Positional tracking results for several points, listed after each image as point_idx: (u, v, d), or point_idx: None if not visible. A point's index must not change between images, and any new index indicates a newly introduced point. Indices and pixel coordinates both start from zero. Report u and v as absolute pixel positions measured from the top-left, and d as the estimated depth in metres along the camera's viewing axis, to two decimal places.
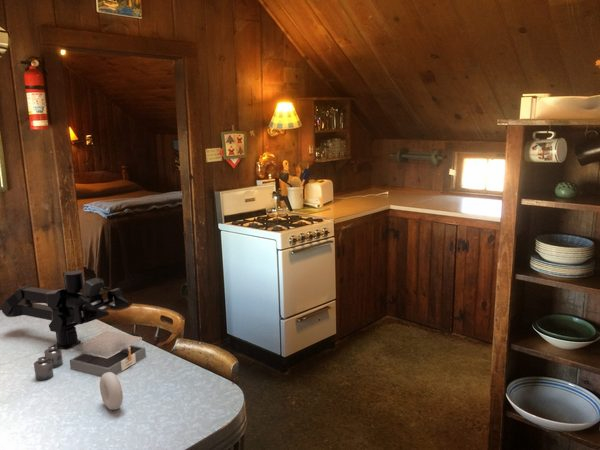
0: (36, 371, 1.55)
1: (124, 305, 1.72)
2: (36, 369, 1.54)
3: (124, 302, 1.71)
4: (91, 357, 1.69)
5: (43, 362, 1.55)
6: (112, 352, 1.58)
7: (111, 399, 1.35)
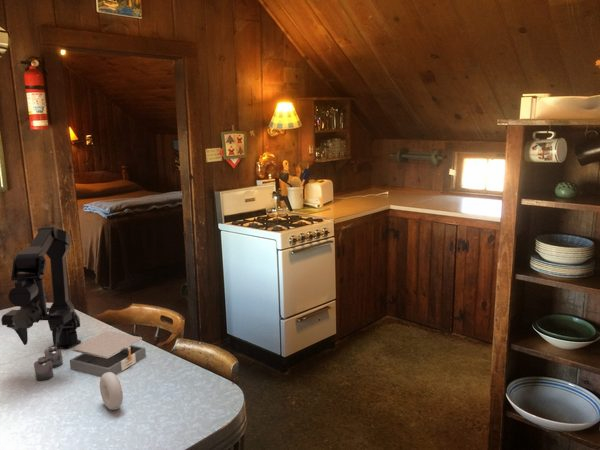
0: (36, 371, 1.55)
1: None
2: (36, 369, 1.54)
3: None
4: (91, 357, 1.69)
5: (43, 362, 1.55)
6: (112, 352, 1.58)
7: (111, 399, 1.35)
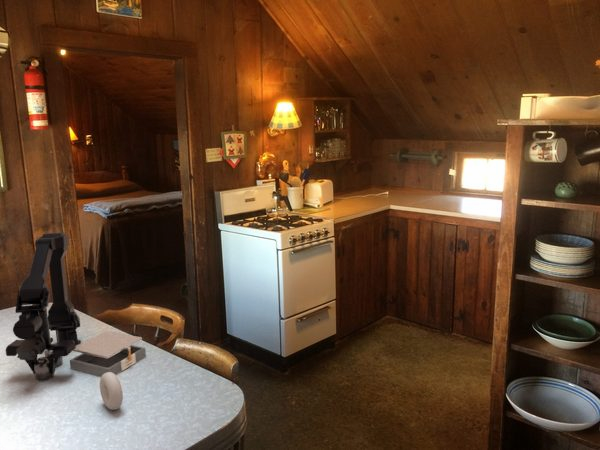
0: (36, 371, 1.55)
1: None
2: (36, 369, 1.54)
3: None
4: (91, 357, 1.69)
5: (43, 362, 1.55)
6: (112, 352, 1.58)
7: (111, 399, 1.35)
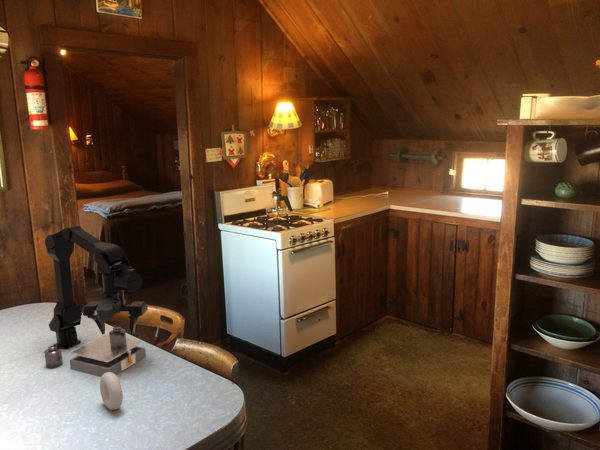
0: (112, 340, 1.62)
1: None
2: (112, 338, 1.62)
3: None
4: None
5: (118, 331, 1.63)
6: (112, 356, 1.58)
7: (111, 399, 1.35)
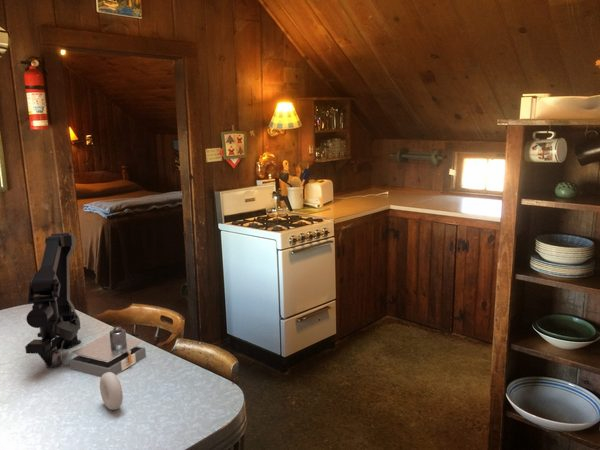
0: (112, 339, 1.62)
1: None
2: (112, 338, 1.62)
3: None
4: None
5: (118, 331, 1.63)
6: (112, 356, 1.58)
7: (111, 399, 1.35)
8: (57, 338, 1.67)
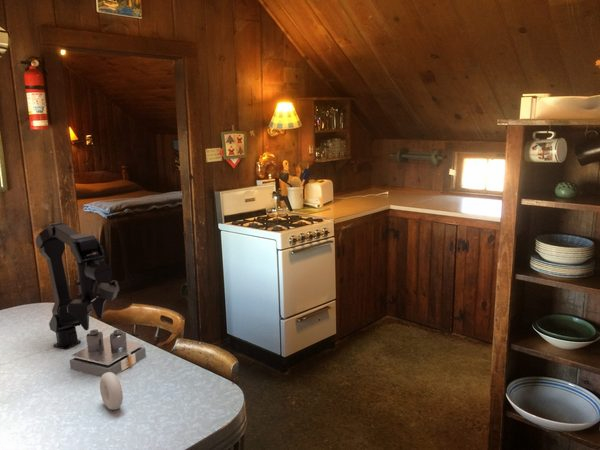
0: (111, 342, 1.62)
1: (96, 313, 1.68)
2: (111, 340, 1.62)
3: (100, 313, 1.68)
4: None
5: (118, 334, 1.63)
6: (113, 359, 1.58)
7: (111, 399, 1.35)
8: (99, 298, 1.67)
